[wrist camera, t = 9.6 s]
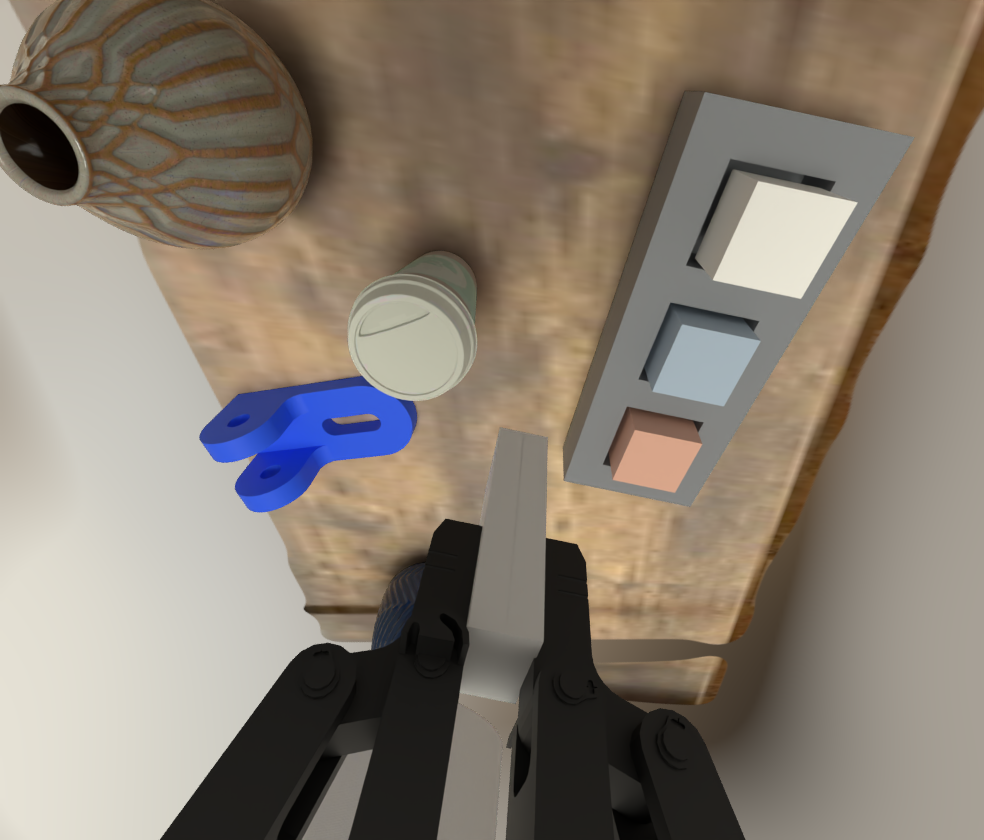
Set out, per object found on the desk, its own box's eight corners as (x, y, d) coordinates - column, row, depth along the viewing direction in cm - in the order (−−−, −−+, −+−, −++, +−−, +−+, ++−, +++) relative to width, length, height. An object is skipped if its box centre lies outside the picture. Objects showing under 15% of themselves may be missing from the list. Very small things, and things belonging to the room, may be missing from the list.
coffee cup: (503, 246, 37) (484, 304, 27) (482, 342, 42) (461, 420, 32) (396, 220, 37) (339, 269, 27) (388, 320, 42) (337, 392, 32)
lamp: (547, 581, 60) (539, 1066, 31) (457, 640, 71) (387, 1044, 41) (414, 503, 55) (245, 1004, 25) (338, 579, 65) (155, 998, 35)
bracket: (276, 455, 53) (232, 514, 46) (239, 393, 49) (183, 447, 41) (427, 438, 49) (405, 499, 42) (402, 369, 45) (372, 424, 37)
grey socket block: (684, 90, 30) (705, 91, 26) (866, 130, 30) (914, 137, 26) (563, 447, 48) (563, 480, 44) (678, 471, 48) (690, 506, 44)
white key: (732, 169, 28) (758, 181, 25) (819, 187, 28) (857, 202, 25) (694, 258, 32) (712, 280, 28) (773, 274, 32) (801, 298, 28)
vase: (132, -11, 30) (-241, -96, 16) (332, 15, 30) (132, -49, 16) (187, 207, 38) (-32, 280, 24) (347, 230, 38) (222, 317, 23)
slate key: (669, 300, 35) (682, 324, 31) (739, 314, 35) (760, 340, 32) (643, 362, 38) (652, 391, 35) (708, 376, 38) (723, 406, 35)
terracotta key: (627, 399, 40) (634, 429, 37) (689, 412, 40) (702, 444, 37) (607, 447, 43) (612, 479, 40) (665, 459, 43) (675, 492, 40)
